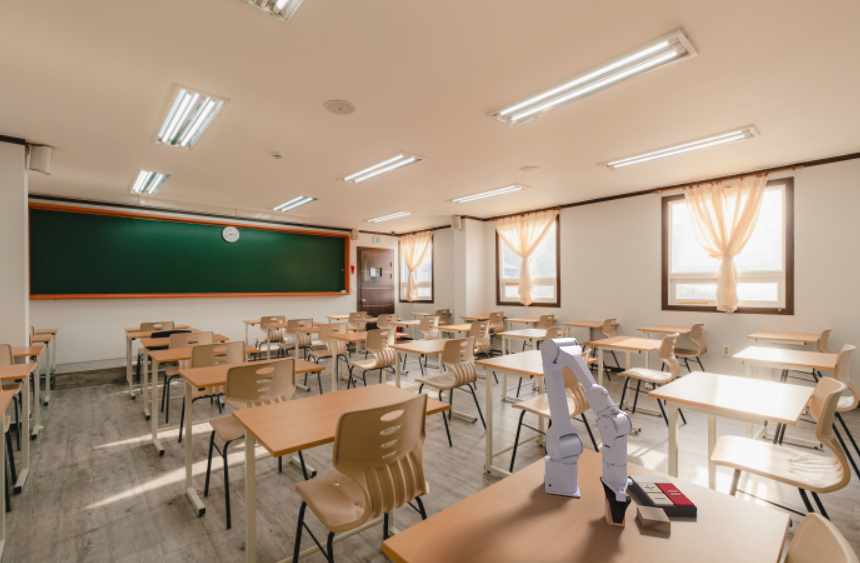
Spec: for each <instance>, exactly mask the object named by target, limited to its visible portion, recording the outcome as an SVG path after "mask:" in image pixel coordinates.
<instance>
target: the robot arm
mask: <svg viewBox="0 0 860 563" xmlns="http://www.w3.org/2000/svg"><path fill="white" fill-rule="evenodd" d="M539 349H540V355H541V361H542V364H541V366H542V371H543V378H544V383H545V390H546V395H547V396H546V397H547V401H548V407H549V408H548V409H549V414H550V419H551V426H550V427H549V428H548V429H547V431H546V433H545V437H546V440H545V450H546V452H547V455H545V456H544V474H543V482H544V490H545V493H546V494H552V495H553V494H554V495H561V496H568V497H575V498H581V492H580V487H579V484H578V483H579V480H578V479H579V478H578V477H579V471H578V470H579V468H578V466H579V465H578V464H579V460H580V455H582V454H583V452H584V448H585V446H584V441H583V439H582V437H581V435H580V431H579V428H577V427H576V426H575V425H574V424H572V421H571V415H570V410H569V409H570V408H569V403H568V398H567V392H566V387H565V380H564V376H563V369H564V367H566V366H567V367H569V369H570V370H571V372H572V373H573V374H574V376H575V377H576V378H577V380H578V382H579V383H580V384H581V386H582V387H583V389H584V390H585V391H584V392H585V393H584V398H585V401H586V402H587V403H588V405H589V406H590V408H591V410H592V412H593V413H594V415H595V417H596V419H597V420H598V422H596V426H597V430H598V432H599V434H600V441H601V444H602V445H601V446H602V449H601V450H602V452H601V454H602V457H601V458H602V465H601V467H602V468H601V469H602V472H601V476H600V477H599V480H600V483H601V484H602V488H603V491H604V496H605V498H607V499H608V501H609V504H610V509H611V516H612V520H613V523H619V524H622V523H623V520H624V516H625V517H626V512H627V509H628V507H629V506H630V504H631V503H632V497H631V496H630V495H627V494H626V492H627V489H628V485H632V484H633V482H632V480H631V479H629V478H628V435H630V434H631V433H632V430H633V422H632V420H631V418H630V416H629V415H628V413H626V412H624V411H623V410H621V409H620V408H619V407H617V406H616V403H615V402H614V400H613V399H612V397H611V396H610V392H609V391H608V389H606V388H605V387H604V386H602V385H599V384H597V381H596V380H595V378H594V376H593V374H592V373H591V370H590V369H589V366H588V364H587V363H586V361H585V360H584V357H583V355H582V353H583V348H582V347H581V345H580V344H579V342H578V340H577V339H576V338H575V337H572V336H569V337H558V338H556V337H555V338H550V337H549V338H546V339H544V340H543V342H542V343H541V345H540V347H539Z"/></svg>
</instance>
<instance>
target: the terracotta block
mask: <svg viewBox="0 0 860 563" xmlns="http://www.w3.org/2000/svg"><path fill="white" fill-rule="evenodd" d="M604 517H605V520H606V522H607V525H611V526H618V527H626V515H625V516H624V520H623V523H622V524H619V523H613V520H612V516H611V509H610V504H609V501H608V499H607V498H606V497H605V498H604Z"/></svg>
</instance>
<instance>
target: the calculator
mask: <svg viewBox="0 0 860 563" xmlns="http://www.w3.org/2000/svg"><path fill="white" fill-rule="evenodd" d="M627 478H629V479H631V480H632V482H633V484H632V485H628V486H627V489H629V491H631V493H632V494H634V495H635V496H636V498H637V499H638V500H640V502H641V503H642V505H643V506H647V507H655V508H662V509H663V510H664V512H665V514H666V515H667V517H668V518H669V517H670V518H672V517H673V518H697V517H698V507H697V506H696V505H695V504H694V502H692V501H691V499H690V498H688V497H687V496H686V495H685V494H684V493H683V491H681V490H680V489H679V488H678V487H677V486H676V485H675V484H674V483H672V482H671V481H670V480H669V479H668V478H667V477H665V475H663V476H662V475H661V476H660V475H657V476H656V475H627Z"/></svg>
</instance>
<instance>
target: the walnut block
mask: <svg viewBox="0 0 860 563" xmlns="http://www.w3.org/2000/svg"><path fill="white" fill-rule="evenodd" d="M636 517H637V519H638V522H639V523H640V525H641V528H642V530H645V531H652V532H659V533H666V534H671V532H672V530H671V529H672V528H671V526H672V525H671V524H672V523H671V520H670V519H669V517H667V515H666V514H665V512H664V510H663V509H662V508H655V507H647V506H644V505H639V504H638V505H637V504H636Z"/></svg>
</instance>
